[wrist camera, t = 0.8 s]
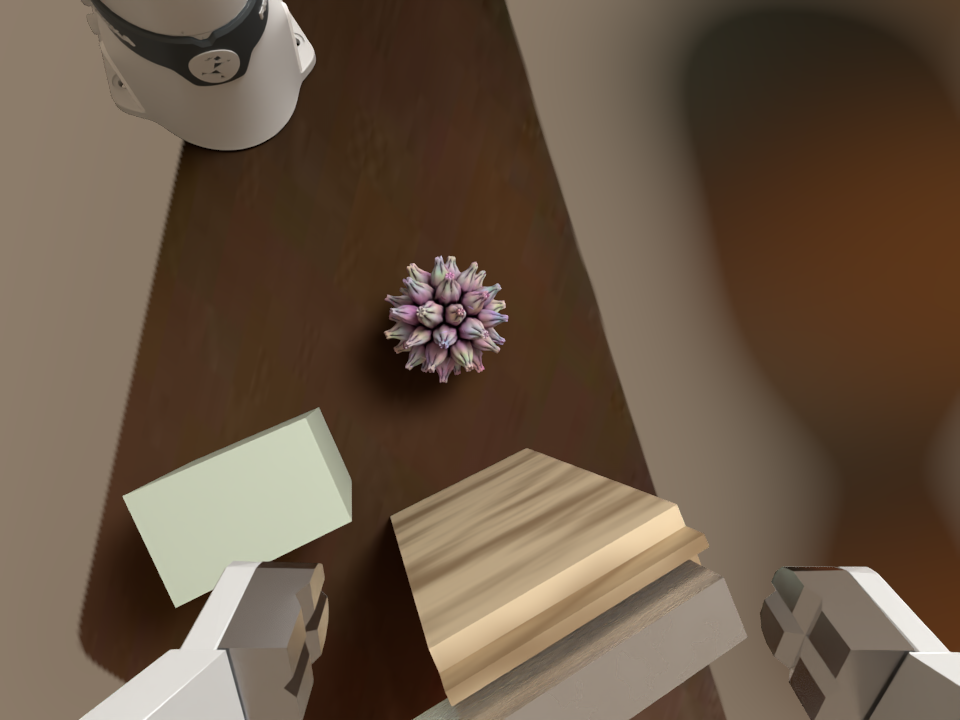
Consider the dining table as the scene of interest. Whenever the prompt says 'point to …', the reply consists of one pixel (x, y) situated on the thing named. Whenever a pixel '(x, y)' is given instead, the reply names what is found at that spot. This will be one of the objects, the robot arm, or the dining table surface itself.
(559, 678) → the steel bar
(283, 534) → the sage block
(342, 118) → the dining table surface
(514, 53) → the dining table surface
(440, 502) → the oak stand
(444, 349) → the flower
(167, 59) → the robot arm
